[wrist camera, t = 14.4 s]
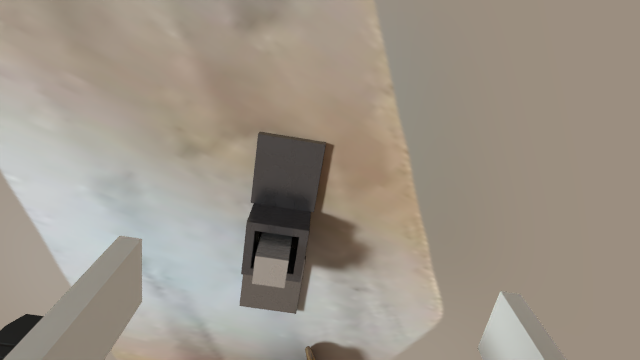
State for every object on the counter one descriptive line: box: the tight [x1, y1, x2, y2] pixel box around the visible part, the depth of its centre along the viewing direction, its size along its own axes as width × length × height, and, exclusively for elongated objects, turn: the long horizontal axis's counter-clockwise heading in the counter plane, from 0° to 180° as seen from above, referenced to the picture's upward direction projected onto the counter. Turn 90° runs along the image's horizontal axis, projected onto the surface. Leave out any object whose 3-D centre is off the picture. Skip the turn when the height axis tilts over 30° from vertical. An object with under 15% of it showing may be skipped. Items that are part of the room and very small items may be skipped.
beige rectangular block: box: [252, 232, 292, 288], centre depth 49 cm, size 4×4×10 cm
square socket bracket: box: [240, 132, 326, 314], centre depth 50 cm, size 25×8×6 cm, turn 171°
